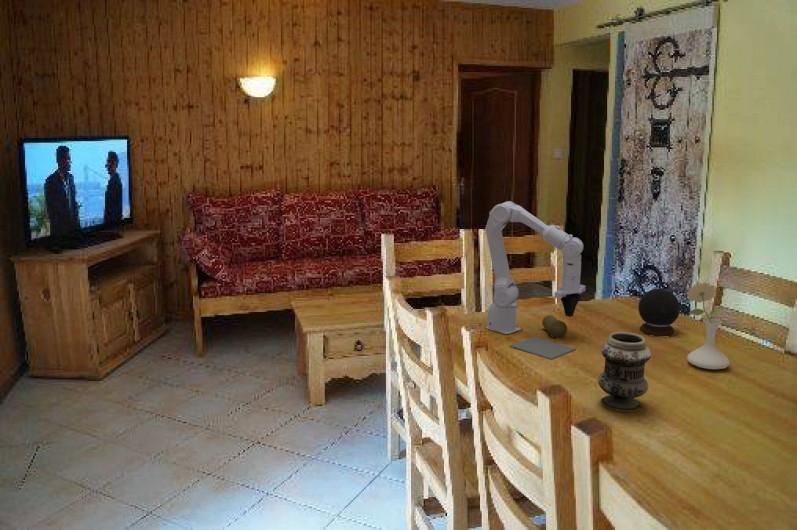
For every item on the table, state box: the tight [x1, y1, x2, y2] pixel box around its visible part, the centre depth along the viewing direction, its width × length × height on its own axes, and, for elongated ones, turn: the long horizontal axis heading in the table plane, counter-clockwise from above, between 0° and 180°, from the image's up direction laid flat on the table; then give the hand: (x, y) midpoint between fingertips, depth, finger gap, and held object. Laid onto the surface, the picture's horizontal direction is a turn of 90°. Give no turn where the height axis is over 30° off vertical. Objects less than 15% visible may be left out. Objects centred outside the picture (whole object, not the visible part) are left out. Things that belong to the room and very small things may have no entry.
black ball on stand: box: [637, 288, 681, 337], centre depth 222 cm, size 13×13×15 cm
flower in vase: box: [686, 281, 731, 370], centre depth 190 cm, size 13×11×25 cm
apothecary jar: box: [597, 331, 652, 413], centre depth 164 cm, size 12×12×18 cm
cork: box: [541, 314, 568, 339], centre depth 222 cm, size 6×6×11 cm
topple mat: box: [509, 336, 577, 360], centre depth 208 cm, size 16×13×1 cm
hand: (569, 315), depth 215 cm, fingers closed
